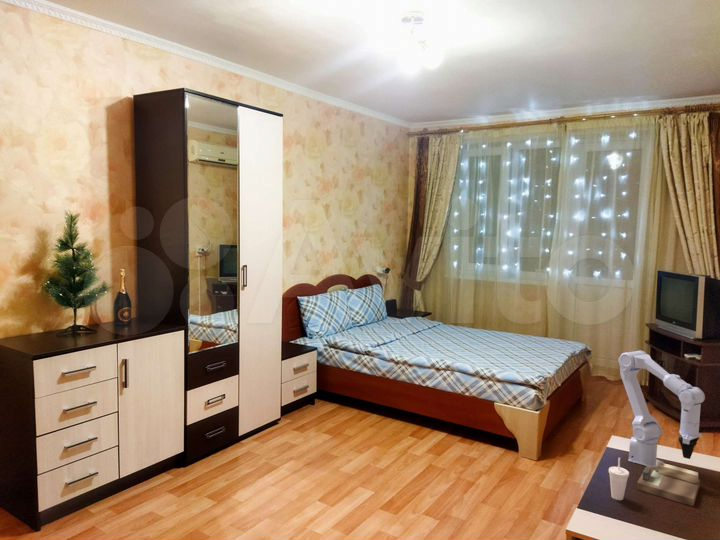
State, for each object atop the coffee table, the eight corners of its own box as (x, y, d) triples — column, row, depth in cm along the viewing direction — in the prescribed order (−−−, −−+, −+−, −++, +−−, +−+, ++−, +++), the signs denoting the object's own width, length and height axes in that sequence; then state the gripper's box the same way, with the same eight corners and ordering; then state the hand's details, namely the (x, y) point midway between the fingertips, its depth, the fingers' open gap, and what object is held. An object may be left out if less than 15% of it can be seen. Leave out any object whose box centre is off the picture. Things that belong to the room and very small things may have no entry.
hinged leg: (654, 471, 190) (655, 462, 190) (656, 468, 193) (656, 459, 192) (696, 483, 182) (697, 473, 182) (697, 480, 184) (698, 470, 184)
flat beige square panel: (636, 489, 183) (637, 474, 183) (646, 471, 196) (647, 457, 196) (693, 506, 172) (694, 490, 172) (699, 486, 185) (700, 471, 185)
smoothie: (626, 494, 180) (628, 456, 178) (629, 503, 174) (631, 464, 172) (605, 491, 182) (608, 453, 180) (608, 500, 176) (610, 461, 174)
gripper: (700, 429, 179) (697, 466, 180) (705, 417, 190) (702, 452, 192) (677, 424, 184) (674, 460, 185) (683, 413, 195) (680, 447, 196)
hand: (687, 456), depth 188 cm, fingers open, 3 cm apart
